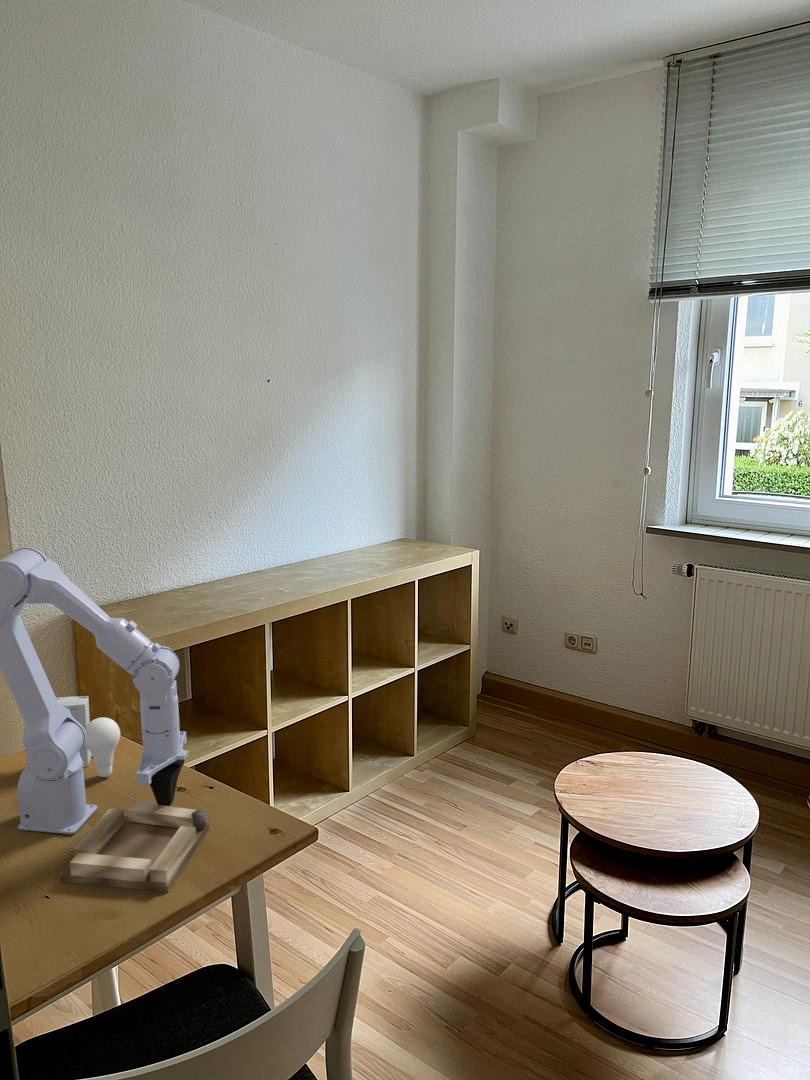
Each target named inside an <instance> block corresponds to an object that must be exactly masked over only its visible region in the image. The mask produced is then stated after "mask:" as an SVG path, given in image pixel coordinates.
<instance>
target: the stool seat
mask: <svg viewBox="0 0 810 1080" xmlns="http://www.w3.org/2000/svg"><path fill="white" fill-rule="evenodd" d="M209 830H210V823H209V822H206V827H205V828H203V829H201V830H196V827H186V826H180V828H174V827H167V826H160V825H152V824H145V823H138V822H130V821H128V815H125V810H124V809H118V808H116V809H115V808H108V809H107V810H106V812H105V813H104V814H103V815H102V816H101V817H100V819H98V820H97V822H96V823H95V824H94V825H93V826H92V827H91V829H90V830H89V831H88V832H87V833H86V835H84V836H83V838H82V839H81V840H80V841H79V842H78V843H77V844H76V846H74V847H73V858H72V859H71V860H70V861H69V864H68V865H67V867H66V868H65V869H64V870H63V871H62V872H61V873H60V875H59V880H60V882H61V883H62V882H63V883H73V884H83V885H89V886H91V885H92V886H102V887H112V888H113V887H114V888H121V889H133V890H144V891H152V892H163V893H169V891H170V890H171V888H172V886H173V885H174V883H175V882H176V881H177V879H178V877H179V876H180V875H181V873H182V872H183V870H184V868H185V867H186V865H187V864H188V862H189V860H190V859H191V858H192V856H193V854H194V853H195V852H196V850H197V849H198V847H199V845H200V843H201V842H202V841H203V840H204V837H206V835H207V833H208V831H209Z"/></svg>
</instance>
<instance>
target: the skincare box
mask: <svg viewBox="0 0 810 1080" xmlns="http://www.w3.org/2000/svg"><path fill="white" fill-rule="evenodd" d="M56 699H57V701H58V703H59V705H61V706H63V707H66V708H68V709H69V710H70V713H71V715H72V716H73V718H74V719H75V720H76V721H77V722H79V723H80V724H81V725H82V726H83V728H84V730H85V728H86V726H87V725H88V724H89V723H90V722H91V721H90V717H91V716H90V704H89V703H90V702H89V700H90V699H89V696H88V695H84V696H83V695H82V696H76V695H75V696H64V697H63V696H62V697H59V696H58V697H56ZM80 756H81V758H82V761H83V768H86V767H89V765H90V761H91V759H92V757H93V755H92V754H91V752H90V751H89V750H88V748H87V747H86V745H85V744H84V745H83V747H82V748H81V749H80Z"/></svg>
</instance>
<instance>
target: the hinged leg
mask: <svg viewBox="0 0 810 1080" xmlns="http://www.w3.org/2000/svg"><path fill="white" fill-rule="evenodd" d="M126 812H127V816H128V821H130V822H138V823H145V824H152V825H160V826H167V827H174V828H180V826H186V827H196V830H201V829H203V828H205V827H206V823H207V820H206V818H207V817H206V812H205V810H203V809H194V808H193V809H192V808H185V807H175V806H171V805H170V806H163V805H158V804H153V803H147V802H139V801H135V802H133V803H132V804H131V805H130V806H129V807H128V808H127V810H126Z"/></svg>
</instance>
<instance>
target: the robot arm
mask: <svg viewBox="0 0 810 1080" xmlns="http://www.w3.org/2000/svg"><path fill="white" fill-rule="evenodd" d="M26 604H29V605H33V604H34V605H35V604H51V605H53V606H54V607H55V608H57V609H58V610H60V611H61V612H62V613H64V614H65V615H66V616H68V617H70V618H71V619H72V620H73V621H74V622H76V623H78V624H79V625H80V626H82V627H83V628H85V629H86V630H87V631H89V632H90V633H92V634H93V635H94V638H95V643H96V648H97V649H99V650H100V651H101V652H102V653H103V654H105V655H106V656H107V657H108V658H109V659H110V660H112V661H114V662H115V663H116V664H117V665H118V666H119V667H121V668H122V669H123V670H125V671H126V672H127V673H128V674H130V675H131V676H133V677H132V681H133V683H132V684H133V685H134V688H136V690H137V691H138V692H139V698H140V700H139V709H140V710H139V711H140V720H141V721H140V722H141V724H140V725H141V738H142V753H141V756H140V762H139V766H138V770H137V771H136V772H135V781H136V785H138V786H150V788H151V791H152V794H153V797H154V798H155V799H154V800H155V801H156V805H163V806H171V805H172V804H173V803H174V799H175V794H176V788H177V783H178V779H179V776H180V773H181V770H182V768H183V766H184V764H185V759H186V758H187V757H188V755H189V752H188V750H187V749H184V745H185V744H186V743H187V731H180V715H179V713H180V712H179V697H178V688H177V680H176V677H177V676H178V673H179V670H180V666H181V665H180V659H179V657H178V656H177V653H175V652H174V651H173V649H172V647H171V648H170V647H168V646H164V645H160V644H159V643H158V642H155V643H154V642H153V641H151V640H150V639H149V638H148V637H147V636H145V635H144V634H143V632H141V631H140V630H139V629H137V628H138V624H137V623H136V622H134V621H133V620H129V621H128V620H127V619H125V618H122V617H111V616H109V615H108V614H107V613H106V612H105V611H104V610H103V609H102V608H101V607H100V606H99V605H97V604H96V603H95V602H94V601H93V600H92V599H91V598H90V597H89V596H87V594H86V593H84V592H83V591H82V590H81V588H79V587H78V586H77V585H76V584H74V583H73V581H72V580H70V579H69V578H68V576H66V575H65V573H63V571H62V570H61V567H59V565H58V564H57V563H56V562H55V561H53V560H51V559H49V558H47V556H45V554H44V552H42V551H40V550H39V549H37V548H35V547H29V546H23V547H20V548H17V549H15V550H14V551H12V552H11V553H10V554H8V555H6V556H5V557H4V558H2V559H0V671H1V673H2V675H3V677H4V679H5V681H6V684H7V686H8V688H9V690H10V692H11V694H12V696H13V697H12V698H13V699H14V701H15V704H16V705H17V708H18V711H19V712H20V714H21V716H22V719H23V722H24V726H23V732H22V733H23V735H22V744H23V745H24V749H25V764H26V767H25V768H24V769H23V771H22V772H21V774H20V776H19V778H18V783H17V789H16V790H17V792H16V793H17V802H18V809H19V811H18V812H19V819H20V820H19V821H20V823H19V825H18V826H17V829H18V830H21V831H31V832H32V831H33V832H43V833H54V834H66V835H74V834H76V832H77V831H79V829H80V828H81V827H83V825H84V824H85V823H86V822H87V820H89V819H90V817H91V816H92V815H93V814H94V813H95V812H96V811H98V809H99V807H98V805H97V804H87V797H86V787H85V786H86V784H85V773H84V767H83V761H82V758H81V756H80V749H81V748H82V747H83V745H84V744H85V741H86V733H85V730H84V728H83V726H82V725H81V724H80V723H79V722H77V721H76V720H75V719H74V718H73V716H72V715H71V713H70V710H69V709H68V708H66V707H63V706H61V705H59V703H58V701H57V699H56V698H57V697H56V694H55V692H54V690H53V688H52V686H51V683H50V681H49V679H48V677H47V675H46V672H45V669H44V667H43V665H42V663H41V660H40V658H39V657H38V653H37V651H36V650H35V647H34V645H33V642H32V640H31V638H30V636H29V634H28V631H27V629H26V627H25V624H24V622H23V620H22V617H21V612H22V610H23V609H24V607H25V605H26Z"/></svg>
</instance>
